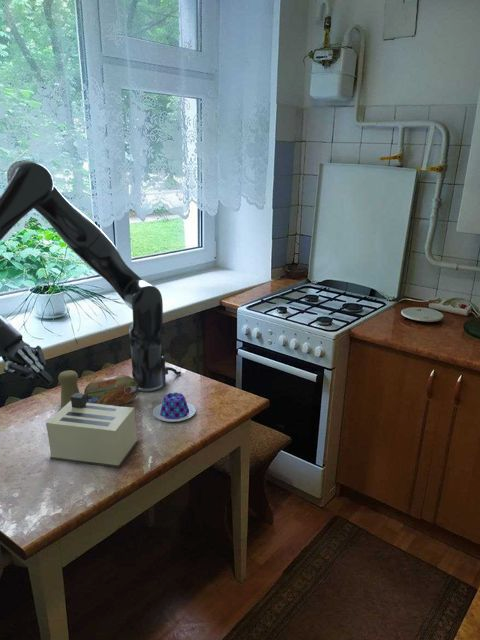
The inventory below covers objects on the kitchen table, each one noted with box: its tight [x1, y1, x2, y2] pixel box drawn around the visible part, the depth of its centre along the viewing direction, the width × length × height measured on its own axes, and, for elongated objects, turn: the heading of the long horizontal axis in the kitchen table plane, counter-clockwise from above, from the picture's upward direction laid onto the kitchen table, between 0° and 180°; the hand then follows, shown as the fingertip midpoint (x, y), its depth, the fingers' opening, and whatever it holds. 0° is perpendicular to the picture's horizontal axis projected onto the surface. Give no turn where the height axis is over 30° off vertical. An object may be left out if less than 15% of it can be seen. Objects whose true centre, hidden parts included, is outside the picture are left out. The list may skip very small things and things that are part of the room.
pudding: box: [152, 392, 197, 422], centre depth 140 cm, size 12×12×5 cm
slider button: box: [71, 392, 86, 408], centre depth 122 cm, size 2×3×3 cm
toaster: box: [45, 401, 139, 469], centre depth 121 cm, size 13×17×10 cm
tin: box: [83, 374, 139, 406], centre depth 143 cm, size 15×3×8 cm, turn 117°
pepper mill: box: [58, 369, 81, 410], centre depth 140 cm, size 6×6×11 cm
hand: (50, 384), depth 121 cm, fingers closed
